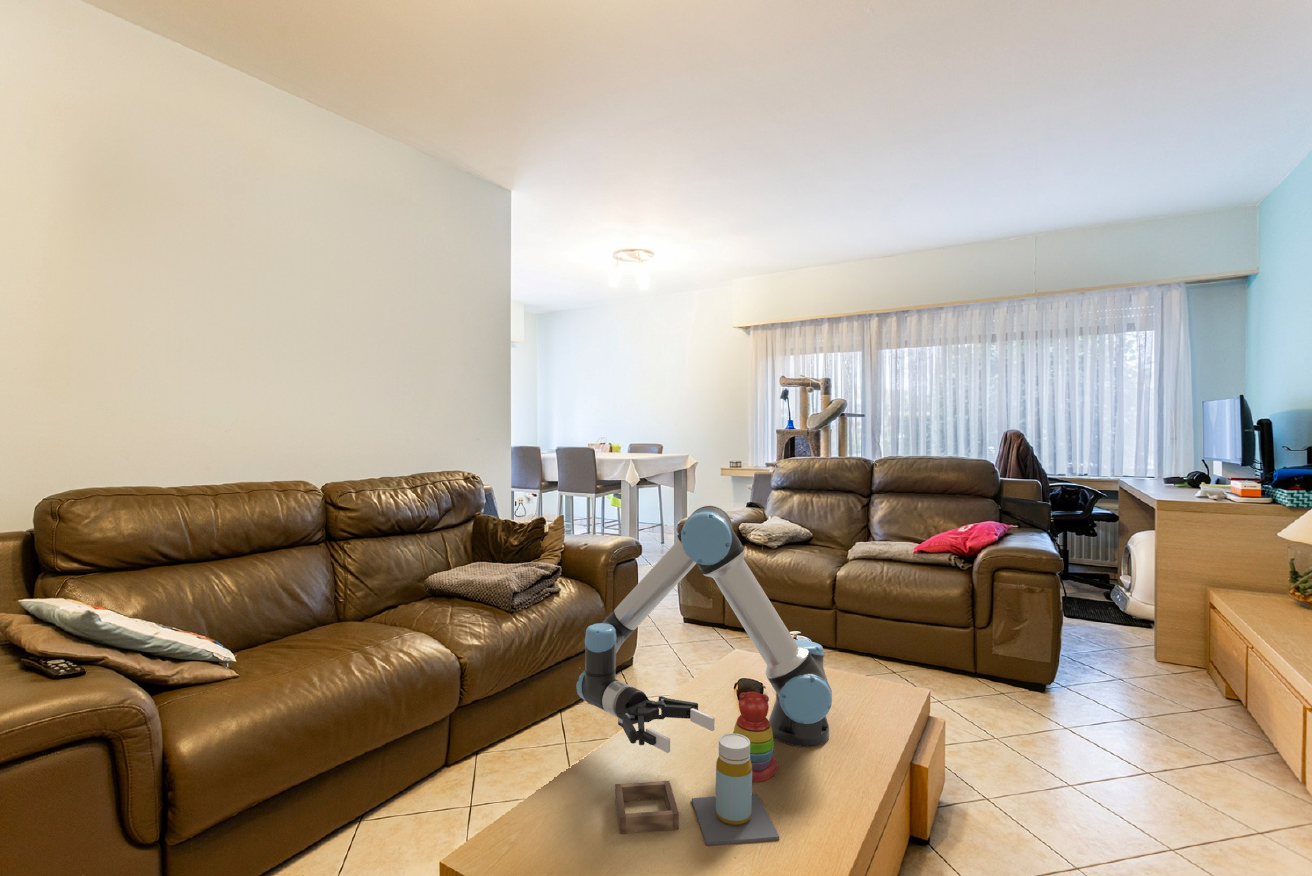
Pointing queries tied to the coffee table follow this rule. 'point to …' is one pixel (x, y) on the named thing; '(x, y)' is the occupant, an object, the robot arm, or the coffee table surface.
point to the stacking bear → (757, 734)
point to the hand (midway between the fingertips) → (692, 734)
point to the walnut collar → (646, 819)
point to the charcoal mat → (723, 833)
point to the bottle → (734, 780)
